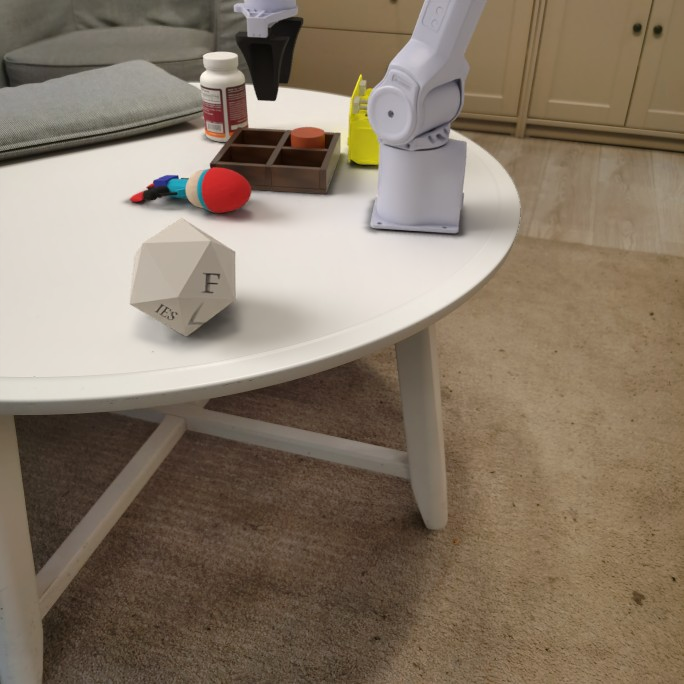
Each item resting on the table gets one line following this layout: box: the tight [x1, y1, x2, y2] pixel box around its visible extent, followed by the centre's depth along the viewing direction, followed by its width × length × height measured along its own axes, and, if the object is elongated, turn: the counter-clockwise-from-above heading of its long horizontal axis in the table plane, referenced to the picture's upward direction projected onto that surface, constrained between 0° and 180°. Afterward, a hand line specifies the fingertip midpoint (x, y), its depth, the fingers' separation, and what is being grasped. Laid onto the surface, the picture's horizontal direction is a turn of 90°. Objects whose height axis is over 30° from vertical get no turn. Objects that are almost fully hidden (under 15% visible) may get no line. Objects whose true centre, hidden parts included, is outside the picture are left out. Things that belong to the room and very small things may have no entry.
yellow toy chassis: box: [347, 74, 380, 166], centre depth 96 cm, size 16×6×8 cm, turn 173°
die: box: [129, 217, 237, 338], centre depth 59 cm, size 8×9×10 cm
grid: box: [209, 127, 342, 195], centre depth 90 cm, size 14×14×3 cm
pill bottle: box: [199, 51, 250, 143], centre depth 99 cm, size 6×6×11 cm
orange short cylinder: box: [291, 126, 326, 149], centre depth 92 cm, size 4×4×3 cm
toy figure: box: [129, 167, 252, 214], centre depth 80 cm, size 8×5×15 cm
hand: (273, 91), depth 84 cm, fingers open, 7 cm apart
